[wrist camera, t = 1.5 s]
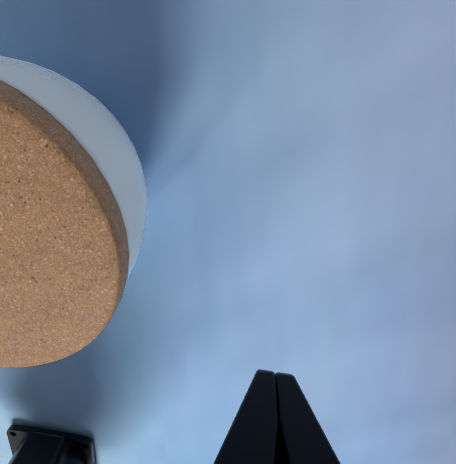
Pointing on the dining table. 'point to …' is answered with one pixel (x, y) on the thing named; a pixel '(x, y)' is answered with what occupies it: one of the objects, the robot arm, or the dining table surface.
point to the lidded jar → (62, 214)
